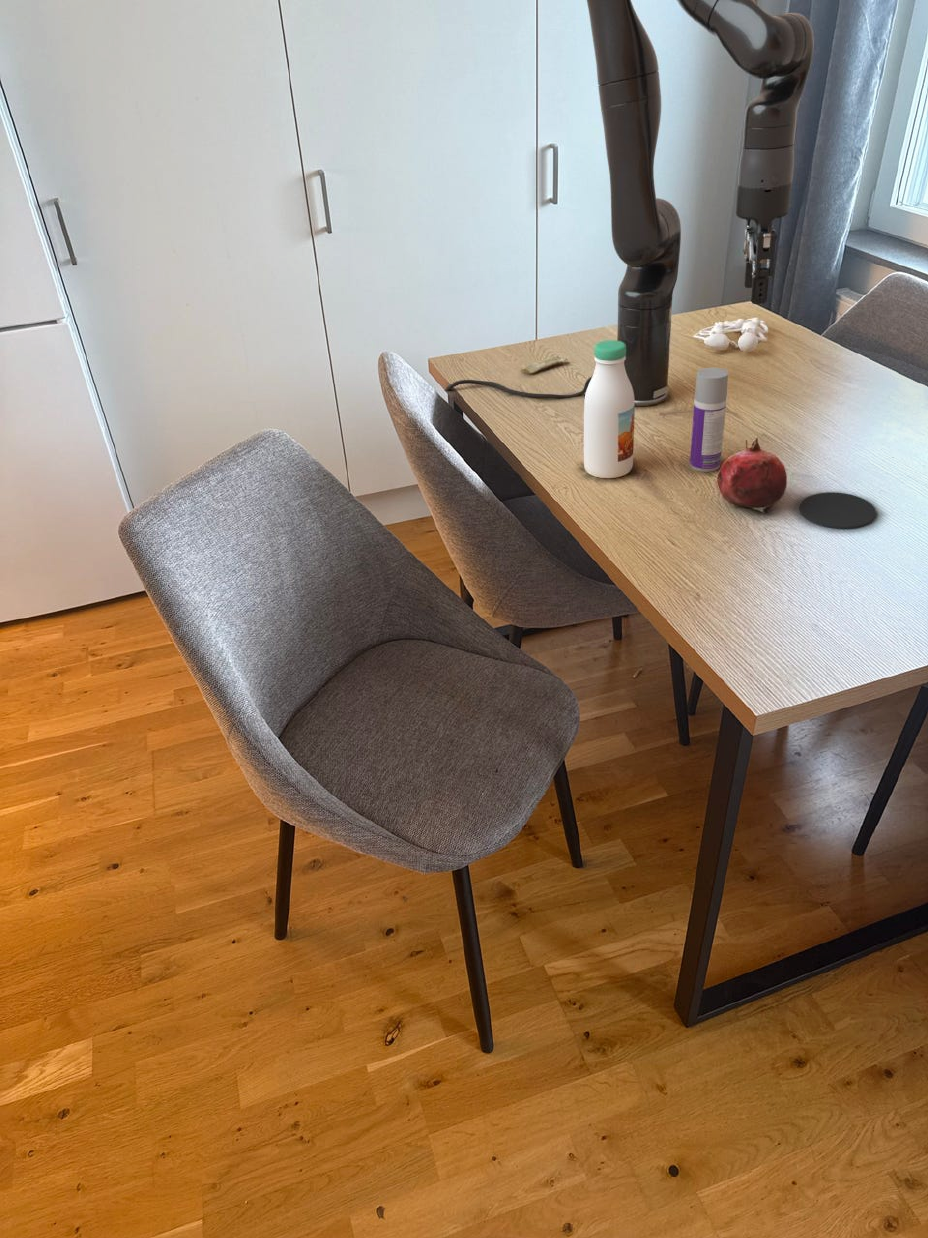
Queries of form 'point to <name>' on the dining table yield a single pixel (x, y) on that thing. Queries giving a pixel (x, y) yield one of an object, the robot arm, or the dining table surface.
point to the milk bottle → (609, 414)
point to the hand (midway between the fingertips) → (754, 294)
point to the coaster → (837, 510)
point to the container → (708, 419)
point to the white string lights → (746, 327)
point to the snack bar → (543, 364)
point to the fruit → (752, 478)
